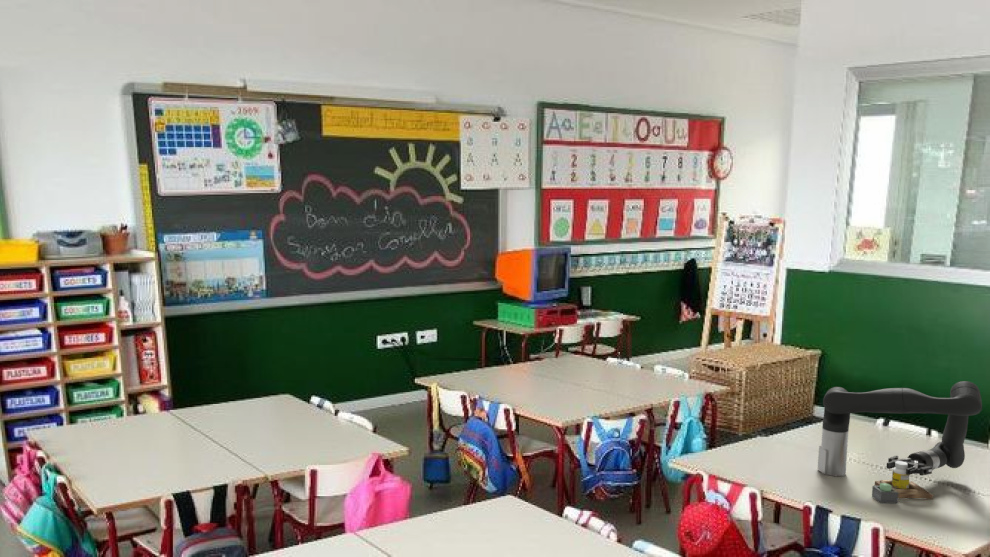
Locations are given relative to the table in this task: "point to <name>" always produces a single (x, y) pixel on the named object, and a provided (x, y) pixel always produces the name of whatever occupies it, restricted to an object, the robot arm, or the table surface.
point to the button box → (885, 495)
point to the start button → (885, 487)
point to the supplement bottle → (900, 476)
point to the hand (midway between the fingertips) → (897, 468)
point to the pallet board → (909, 490)
